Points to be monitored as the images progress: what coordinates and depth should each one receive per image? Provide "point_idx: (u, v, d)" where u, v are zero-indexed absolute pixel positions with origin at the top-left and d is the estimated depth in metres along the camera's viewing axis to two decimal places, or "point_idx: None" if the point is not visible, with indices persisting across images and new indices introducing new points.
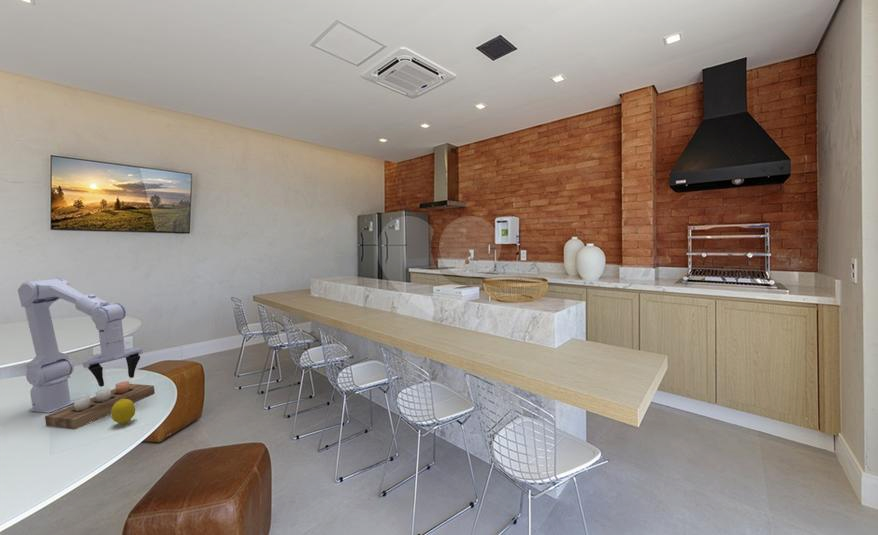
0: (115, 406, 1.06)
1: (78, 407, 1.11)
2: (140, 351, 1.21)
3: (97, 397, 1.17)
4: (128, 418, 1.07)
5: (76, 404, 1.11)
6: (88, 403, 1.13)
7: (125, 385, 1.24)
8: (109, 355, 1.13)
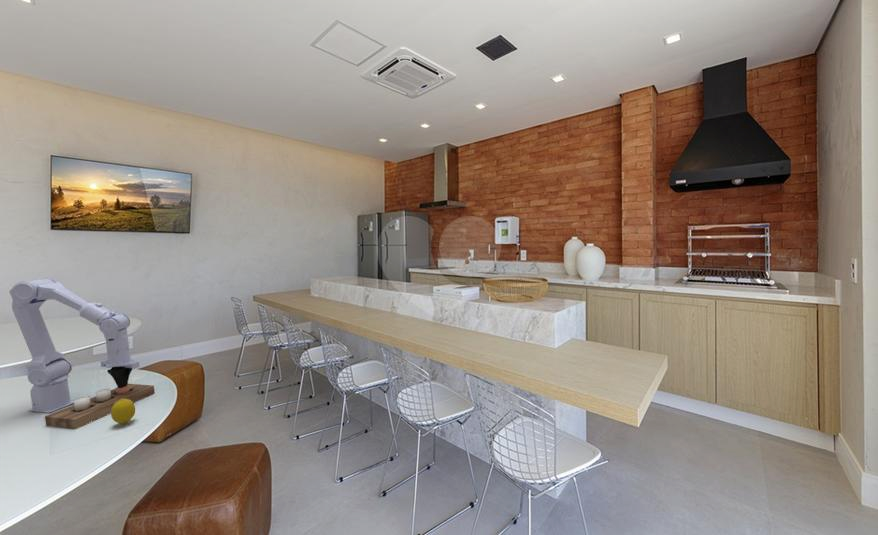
0: (115, 406, 1.06)
1: (78, 407, 1.11)
2: (132, 366, 1.21)
3: (97, 397, 1.17)
4: (128, 418, 1.07)
5: (76, 404, 1.11)
6: (88, 403, 1.13)
7: (125, 388, 1.24)
8: (108, 362, 1.22)
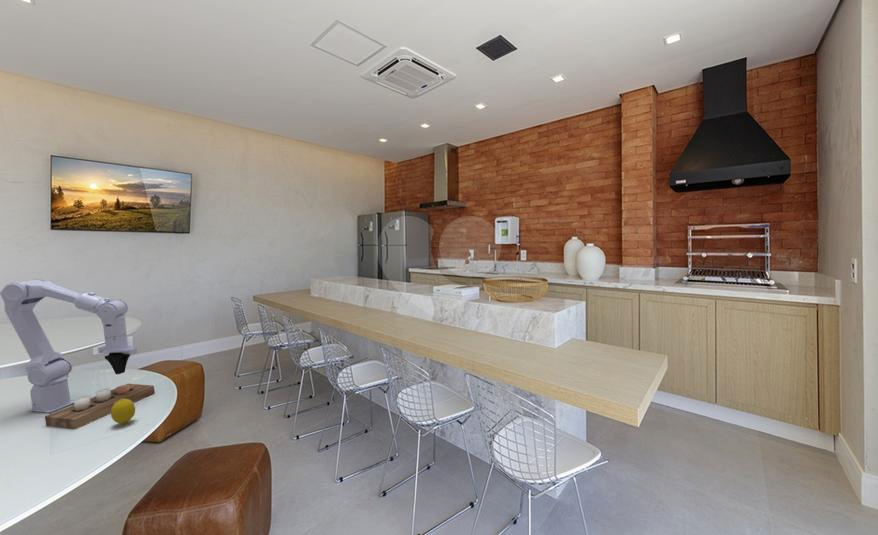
0: (115, 406, 1.06)
1: (78, 407, 1.11)
2: (129, 352, 1.21)
3: (97, 397, 1.17)
4: (128, 418, 1.07)
5: (76, 404, 1.11)
6: (88, 403, 1.13)
7: (125, 388, 1.24)
8: (105, 348, 1.21)
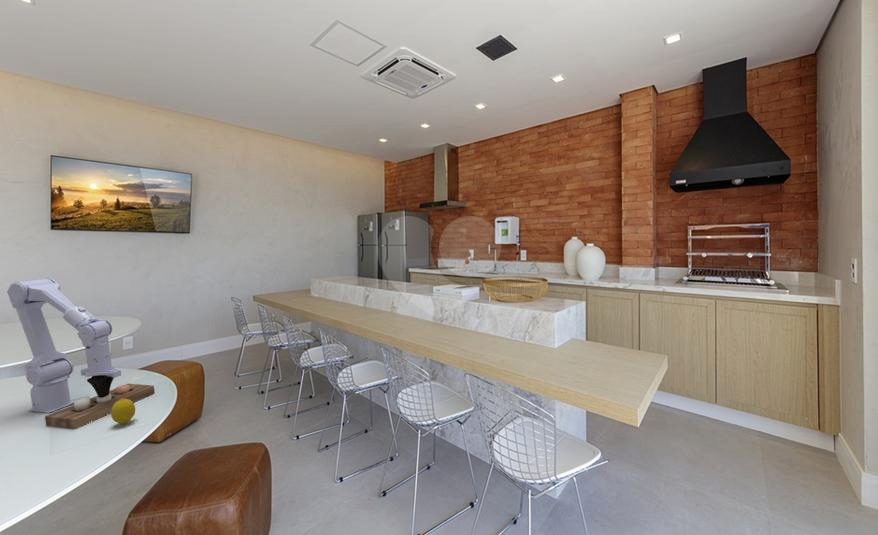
0: (115, 406, 1.06)
1: (78, 407, 1.11)
2: (113, 374, 1.16)
3: (98, 402, 1.17)
4: (128, 418, 1.07)
5: (76, 404, 1.11)
6: (88, 403, 1.13)
7: (125, 388, 1.24)
8: (88, 370, 1.16)
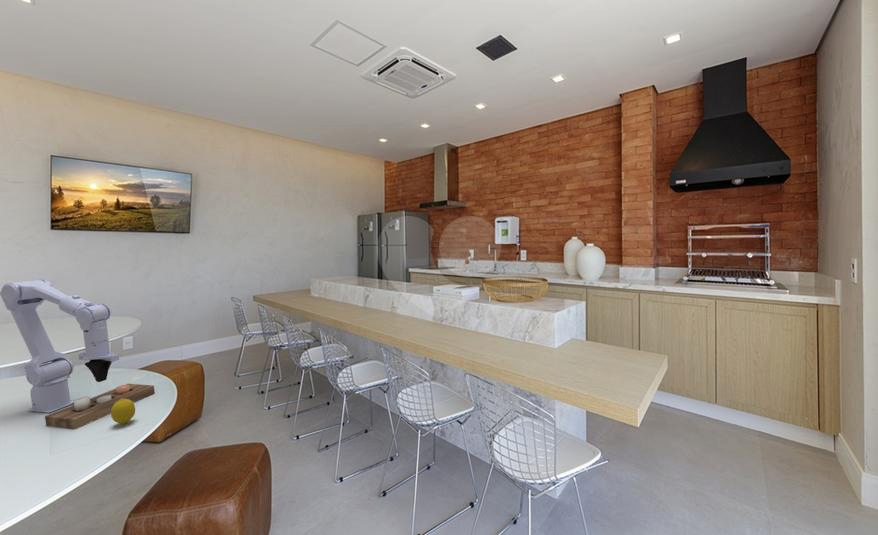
0: (115, 406, 1.06)
1: (78, 407, 1.11)
2: (111, 358, 1.15)
3: None
4: (128, 418, 1.07)
5: (76, 404, 1.11)
6: (88, 403, 1.13)
7: (125, 388, 1.24)
8: (86, 354, 1.15)
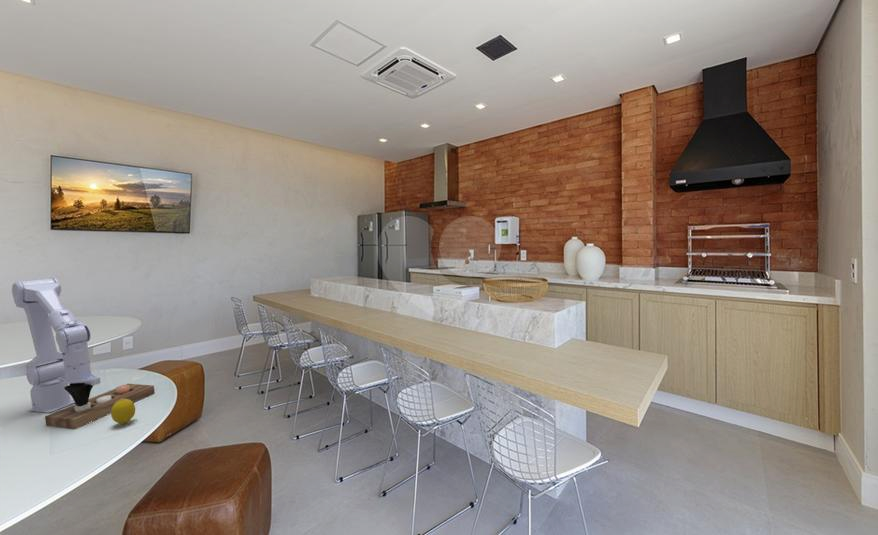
0: (115, 406, 1.06)
1: None
2: (91, 382, 1.10)
3: None
4: (128, 418, 1.07)
5: (77, 410, 1.11)
6: None
7: (125, 388, 1.24)
8: None
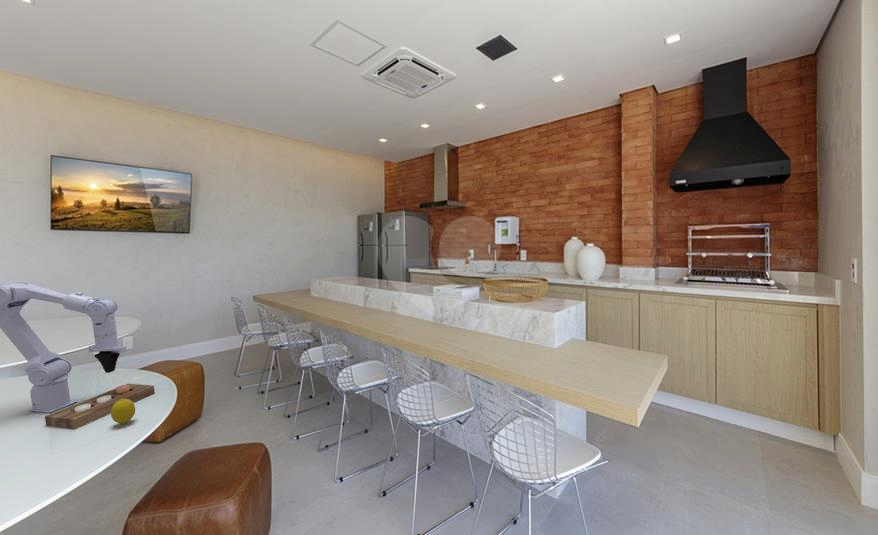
0: (115, 406, 1.06)
1: None
2: (118, 350, 1.21)
3: None
4: (128, 418, 1.07)
5: (77, 411, 1.11)
6: None
7: (125, 388, 1.24)
8: (95, 346, 1.22)
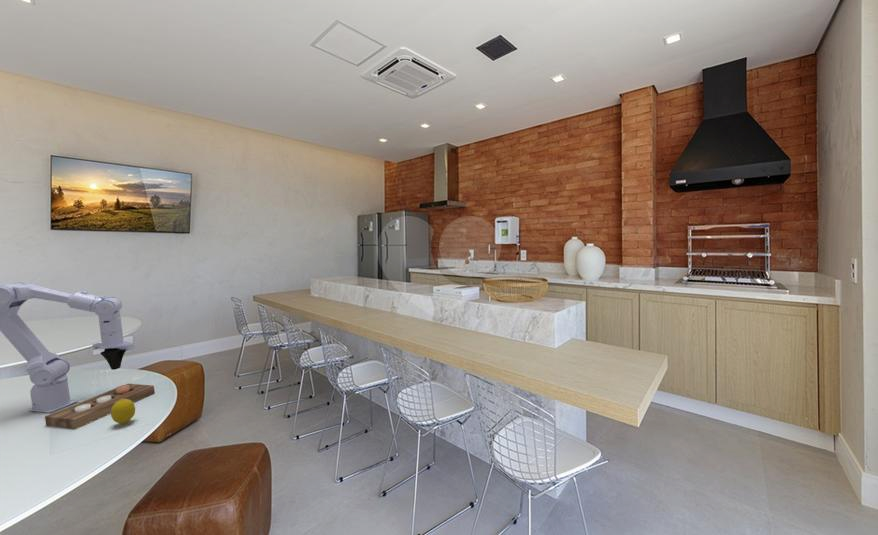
0: (115, 406, 1.06)
1: None
2: (127, 347, 1.24)
3: None
4: (128, 418, 1.07)
5: (77, 411, 1.11)
6: None
7: (125, 388, 1.24)
8: (101, 344, 1.24)
